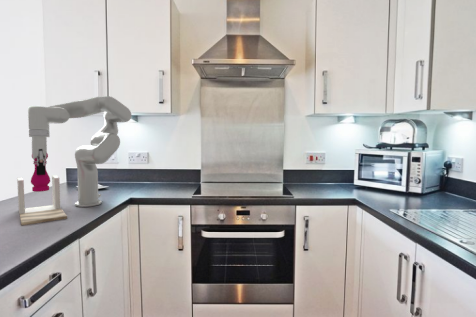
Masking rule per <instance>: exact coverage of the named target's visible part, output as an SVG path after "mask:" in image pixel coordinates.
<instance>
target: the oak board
mask: <svg viewBox="0 0 476 317" xmlns="http://www.w3.org/2000/svg"><path fill="white" fill-rule="evenodd" d="M19 219H20V224H21V226H26V225H32V224H33V225H34V224H40V223H45V222H46V223H47V222H53V221H58V220H59V221H60V220H66V219H68V215H67V214H66V213H65V211H64V210H63V209H62V208H60V209H53V210H45V211H37V212H30V213H22V214H20V215H19Z"/></svg>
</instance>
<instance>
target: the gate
mask: <svg viewBox="0 0 476 317" xmlns="http://www.w3.org/2000/svg"><path fill="white" fill-rule="evenodd" d="M16 181H17V201H18V202H17V203H18V206H17V207H18V214H19V216H20V214H22V213H30V212H37V211H45V210H53V209H61V193H60V192H61V188H60V187H61V186H60V185H61V184H60V177H59V176H58V175H57V174H55V175H51V189H52V190H51V192H52V195H51V196H52V204H50V205H42V206H34V207H25V203H26V202H25V182H24V178H23V177H17V178H16Z"/></svg>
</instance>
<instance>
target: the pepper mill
mask: <svg viewBox="0 0 476 317" xmlns="http://www.w3.org/2000/svg"><path fill="white" fill-rule="evenodd" d="M44 157H45V156H44ZM31 158H32V159H33V157H32V156H31ZM48 158H49V154H48V153H47V156H46V159H45V158H44V159H45V171H46V174H45V175H37V168H36V166H37V158H35V159H33V161H32V162H33V163H32V164H33V165H34V172H32V176H31V178H30V184H31V185H32V190H31V191H32V192H34V193H35V192H36V193H37V192H38V193H39V192H48V191H50V185H49V184H50V182H51V178H50V175H49V173H48V172H47V169H46V168H47V167H46V165H47V164H48V162H47V159H48ZM38 159H39V158H38Z"/></svg>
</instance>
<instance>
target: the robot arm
mask: <svg viewBox="0 0 476 317" xmlns="http://www.w3.org/2000/svg"><path fill="white" fill-rule="evenodd" d="M27 108H28V109H27V113H28V114H27V116H28V119H27V120H28V137H29V138H31V158H32V157H33V158H32V159H33V160H34V159H35V158H37V166H36V168H37V175H45V174H46V171H47V170H46V171H45V159H46V156H47V154H48V146H47V145H48V144H47V142H48V140H47V138H50V136H51V135H50V134H51V133H50V124H64V123H66V122H68V121H69V120H70V119H80V118H86V117H89V116H94V115H97V114H100V113H103V120H104V125H103V127H101V129H99V130H98V131H97V132H96V133H95V134H94V135H93V136H92V137H91V139H90V145H88V144H87V145H81V146H79V147H77V148H76V150H75V152H74V158H75V163H76V167H77V168H76V171H77V199H78V200H77V201H76V202H74V206H75V207H80V208H81V207H82V208H85V207H96V206H98V205H101V204H102V200H100V199H99V198H101V197H102V194H101V193H99V177H98V176H99V172H98V167H97V165H103V164H104V163H106V162H107V161H109V159H110V158H111V157H112V156H113V155H114V154H115V153H116V152H117V151H118V149H119V148H120V145H121V139H120V137H119V135H118V134H119V128H118V123H128V122H130V121H131V119H132V117H133V116H132V112H131V110H130V109H129V107H127V106H126V105H124V104H123V103H122V102H121V101H119V100H118V99H116V98H115V97H113V96H108V95H107V96H104V95H103V96H95V97H90V98H85V99H80V100H75V101H71V102H67V103H66V102H65V103H61V104H55V105H50V106H44V105H30V106H28V107H27ZM44 156H45V157H44ZM38 158H39V159H38ZM44 158H45V159H44ZM46 160H47V159H46Z"/></svg>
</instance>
